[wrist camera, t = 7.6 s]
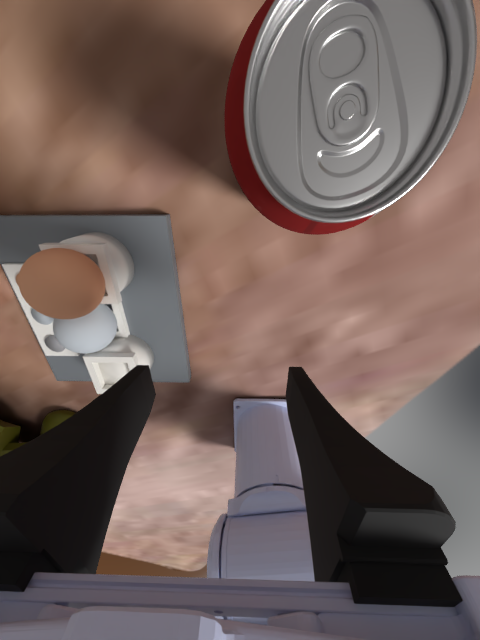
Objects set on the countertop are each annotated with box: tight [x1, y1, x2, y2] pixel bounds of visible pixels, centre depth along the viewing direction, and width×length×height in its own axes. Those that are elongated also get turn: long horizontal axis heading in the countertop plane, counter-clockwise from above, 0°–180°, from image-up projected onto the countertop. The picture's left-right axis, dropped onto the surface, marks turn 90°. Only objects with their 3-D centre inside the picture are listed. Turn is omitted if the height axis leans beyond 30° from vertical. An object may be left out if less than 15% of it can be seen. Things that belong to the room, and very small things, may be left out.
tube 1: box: [39, 232, 134, 304], centre depth 18 cm, size 5×5×3 cm
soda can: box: [225, 0, 477, 234], centre depth 11 cm, size 7×7×12 cm
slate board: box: [0, 214, 191, 382], centre depth 22 cm, size 16×14×2 cm
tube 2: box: [83, 335, 154, 394], centre depth 22 cm, size 5×5×3 cm
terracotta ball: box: [18, 248, 105, 319], centre depth 15 cm, size 4×4×4 cm
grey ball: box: [53, 304, 117, 354], centre depth 20 cm, size 4×4×4 cm
